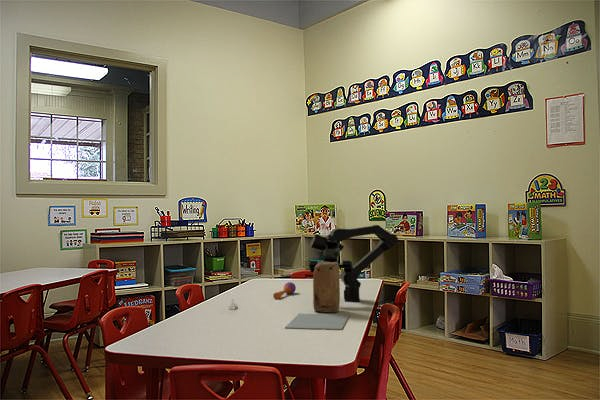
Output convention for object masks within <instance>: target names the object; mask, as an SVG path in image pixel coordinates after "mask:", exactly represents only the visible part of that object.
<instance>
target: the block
mask: <svg viewBox="0 0 600 400" xmlns="http://www.w3.org/2000/svg"><path fill="white" fill-rule="evenodd" d="M338 263H339V262H338ZM338 263H337V262H324V261H319V263H317V265H316V266H315V269H314V273H312V275H313V276H312V291H313V292H312V296H313V297H312V298H313V299H312V300H313V302H312V305H313V311H314V312H318V313H319V312H320V313H329V314H333V313H337V312H339V309H340V302H341V301H340V299H341V296H340V295H341V293H340V291H341V290H340V289H341V287H340V270H339V266H338Z"/></svg>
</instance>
